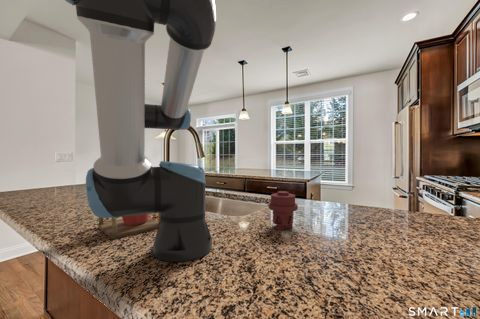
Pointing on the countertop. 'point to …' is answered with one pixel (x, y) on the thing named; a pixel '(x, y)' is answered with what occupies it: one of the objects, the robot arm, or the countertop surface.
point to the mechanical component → (283, 209)
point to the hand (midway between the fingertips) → (130, 209)
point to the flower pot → (135, 219)
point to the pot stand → (126, 227)
